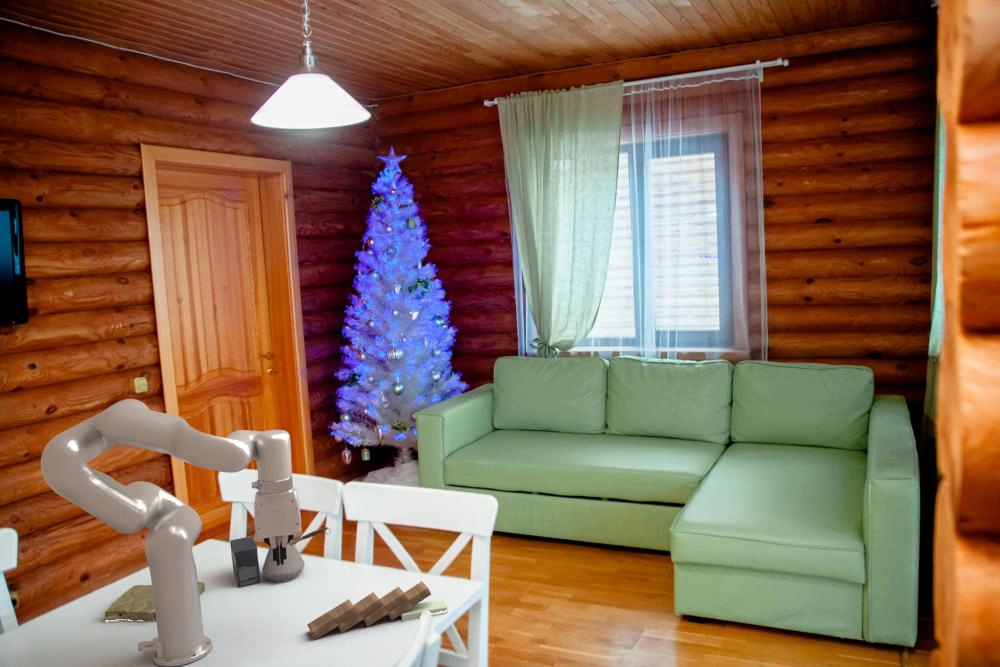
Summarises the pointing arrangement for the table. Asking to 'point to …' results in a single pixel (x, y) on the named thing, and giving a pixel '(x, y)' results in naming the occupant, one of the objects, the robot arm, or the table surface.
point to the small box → (245, 561)
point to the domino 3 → (387, 605)
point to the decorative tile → (137, 604)
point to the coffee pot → (291, 564)
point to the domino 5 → (420, 607)
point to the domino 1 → (331, 619)
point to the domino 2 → (362, 611)
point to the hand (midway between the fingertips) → (280, 562)
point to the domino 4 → (411, 599)
